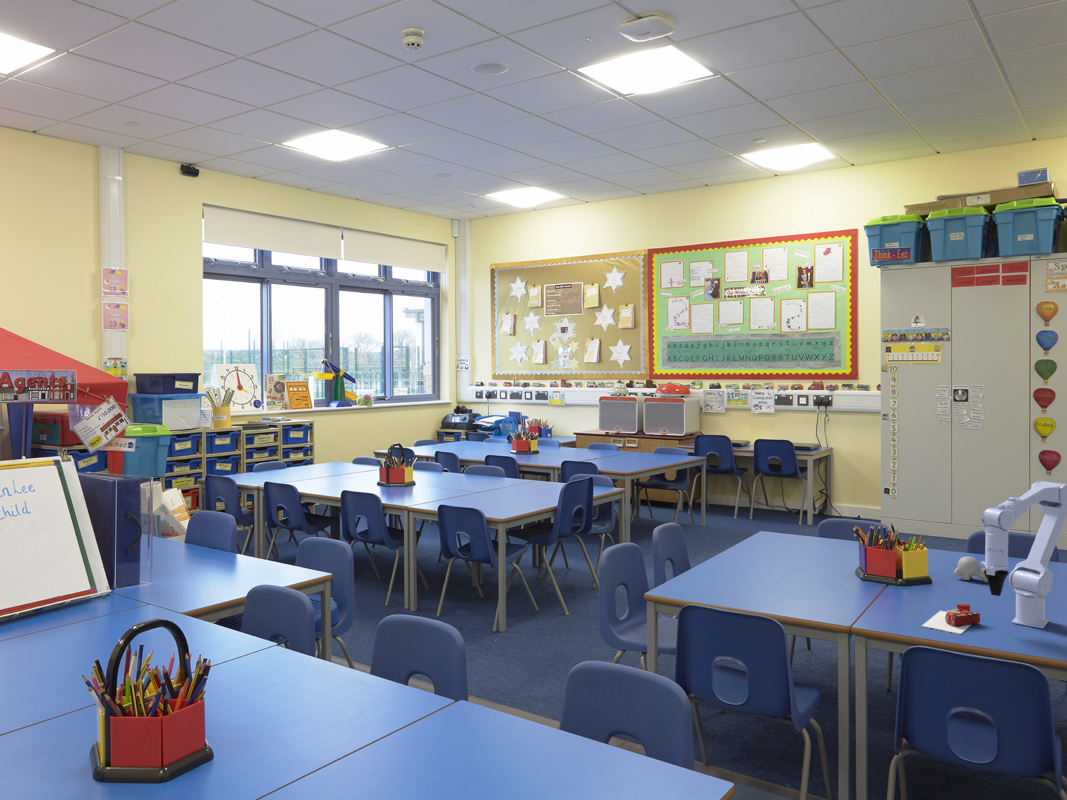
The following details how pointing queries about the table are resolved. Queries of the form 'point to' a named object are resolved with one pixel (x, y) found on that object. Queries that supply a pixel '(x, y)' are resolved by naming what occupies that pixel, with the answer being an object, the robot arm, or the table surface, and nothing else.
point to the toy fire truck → (962, 616)
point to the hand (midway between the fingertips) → (995, 595)
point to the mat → (943, 624)
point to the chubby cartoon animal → (970, 569)
